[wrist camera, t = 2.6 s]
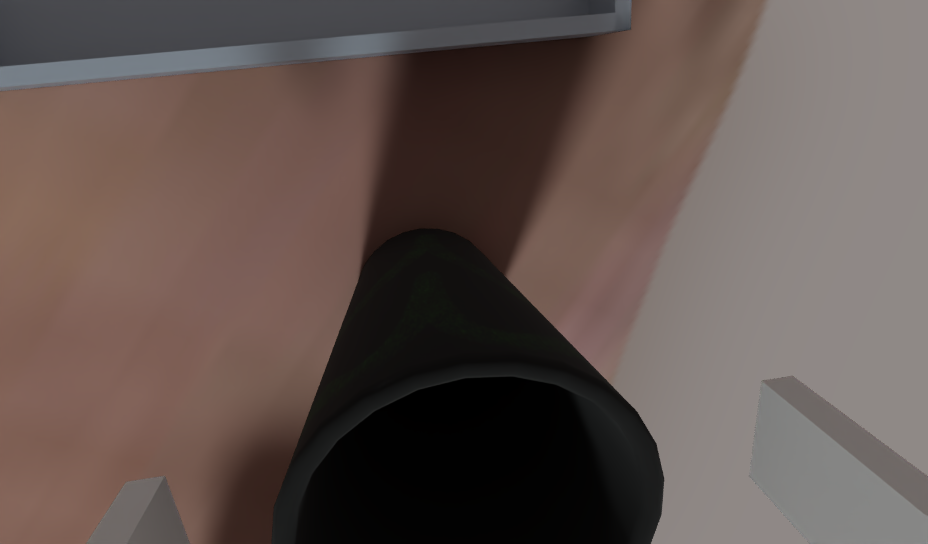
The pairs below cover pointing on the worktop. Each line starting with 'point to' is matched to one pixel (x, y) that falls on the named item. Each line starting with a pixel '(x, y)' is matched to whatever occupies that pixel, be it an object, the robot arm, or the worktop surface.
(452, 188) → the worktop surface
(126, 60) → the tray
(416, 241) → the cup
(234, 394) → the worktop surface
